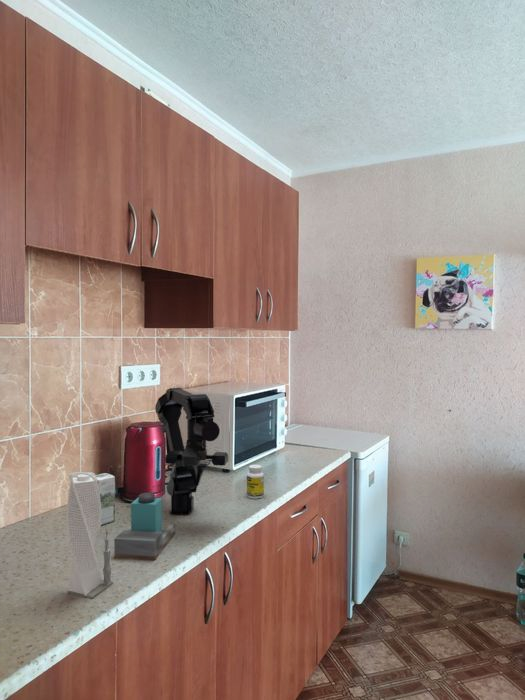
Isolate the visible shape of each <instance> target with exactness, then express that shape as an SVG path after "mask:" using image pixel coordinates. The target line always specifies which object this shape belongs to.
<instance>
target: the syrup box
mask: <svg viewBox="0 0 525 700" xmlns="http://www.w3.org/2000/svg"><path fill="white" fill-rule="evenodd" d="M95 478H96V480H97V483H98V488H99V494H100V501H101V526H104V525H107V524H111V523H112V522H115V521H116V477H115V475H113V474H110V473H107V472H104V473H100V474H95Z"/></svg>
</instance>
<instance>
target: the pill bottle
mask: <svg viewBox="0 0 525 700" xmlns="http://www.w3.org/2000/svg"><path fill="white" fill-rule="evenodd" d="M264 477H265V473H264V472H263V466H262V465H260V464H251V465H249V466H248V472H247V473H246V496H247V497H248V498H249V499H252V500H253V499H254V500H257V499H258V498H259V499H261V498H263V497H264V495H265V494H264V493H265V488H264V487H265V484H264V483H265V479H264Z"/></svg>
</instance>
